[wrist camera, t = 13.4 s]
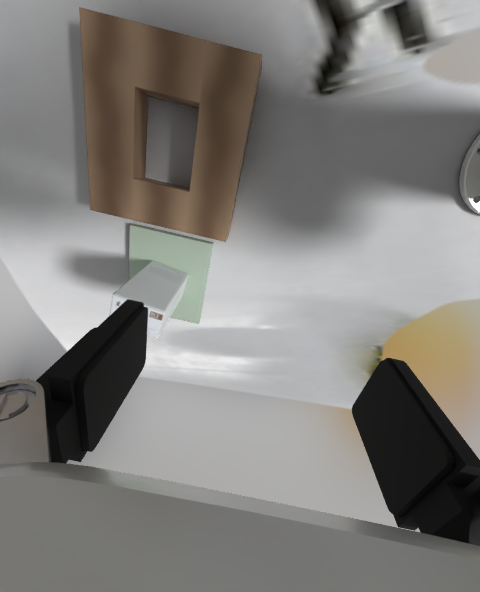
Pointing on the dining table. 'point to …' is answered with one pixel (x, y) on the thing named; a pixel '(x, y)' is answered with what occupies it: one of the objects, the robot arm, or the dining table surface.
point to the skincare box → (153, 294)
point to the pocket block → (133, 121)
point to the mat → (174, 263)
